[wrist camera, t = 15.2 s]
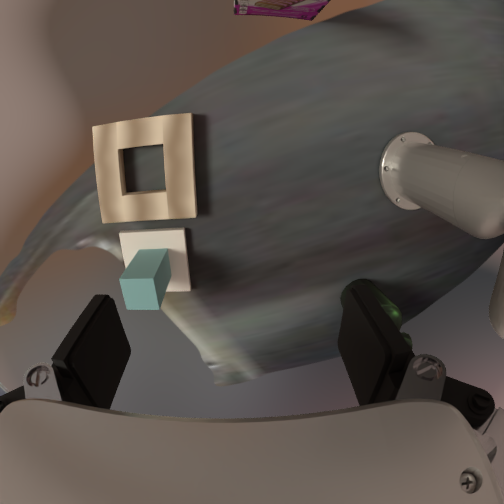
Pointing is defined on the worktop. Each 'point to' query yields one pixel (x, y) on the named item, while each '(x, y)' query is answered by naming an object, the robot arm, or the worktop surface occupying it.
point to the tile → (159, 240)
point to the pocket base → (175, 160)
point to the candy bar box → (280, 8)
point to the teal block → (146, 279)
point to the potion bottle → (384, 302)
